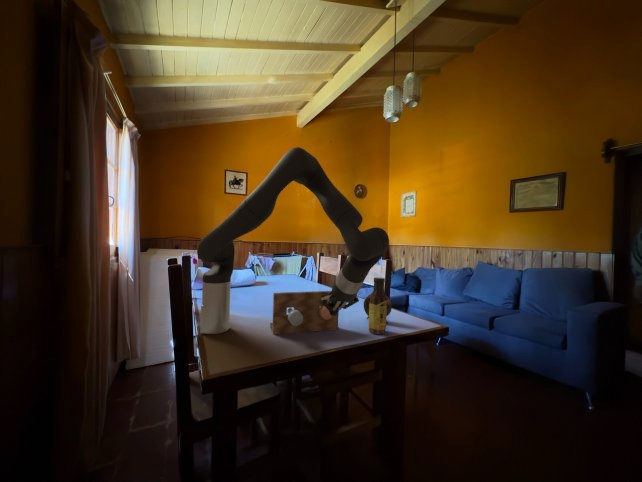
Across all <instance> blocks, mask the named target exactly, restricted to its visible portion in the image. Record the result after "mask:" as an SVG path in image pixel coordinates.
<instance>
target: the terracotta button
mask: <svg viewBox="0 0 642 482" xmlns="http://www.w3.org/2000/svg"><path fill="white" fill-rule="evenodd" d="M319 314H320V316H321V317H322V318H324V319H325V320H328V319H330V318H332V316H331V314H330V313H329V310H328V309H327V308H326V307H325V306H324V305H323V306H320V309H319Z"/></svg>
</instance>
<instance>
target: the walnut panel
mask: <svg viewBox="0 0 642 482" xmlns="http://www.w3.org/2000/svg"><path fill="white" fill-rule="evenodd" d="M331 291H332V290H319V291H317V290H315V291H287V292H285V291H284V292H273V297H272V299H273V300H272V322H270V324H269V328H270V330H271V332H272V335H283V334H295V333H297V334H298V333H307V332H321V331H331V330H332V331H334V330H339V312H340V311H339V312H338V313H337V314H336V315H335V316H332V318H330V319H328V320H325V319H324V318H322V317H321V316H320V314H319V309H320V306H323V304H322V301H321V296H322V295H324V296H328V294H329V292H331ZM329 301H330V303H331V302H332V301H331V300H330V299H329ZM289 308H291V309H292V308H293V310H298V311H299V312H300V313H301V314H302V316H303V321H302V323H301V324H300V325H298V326H294V325H292V324H291V323H290V321H289V320H288V314H287V313H288V309H289Z"/></svg>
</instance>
